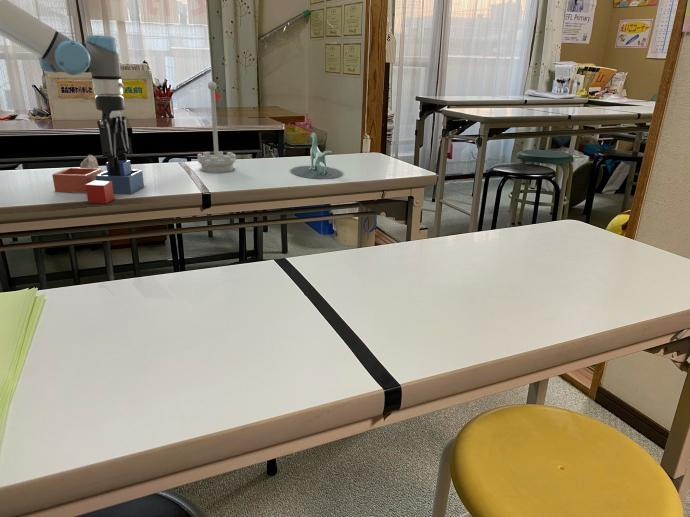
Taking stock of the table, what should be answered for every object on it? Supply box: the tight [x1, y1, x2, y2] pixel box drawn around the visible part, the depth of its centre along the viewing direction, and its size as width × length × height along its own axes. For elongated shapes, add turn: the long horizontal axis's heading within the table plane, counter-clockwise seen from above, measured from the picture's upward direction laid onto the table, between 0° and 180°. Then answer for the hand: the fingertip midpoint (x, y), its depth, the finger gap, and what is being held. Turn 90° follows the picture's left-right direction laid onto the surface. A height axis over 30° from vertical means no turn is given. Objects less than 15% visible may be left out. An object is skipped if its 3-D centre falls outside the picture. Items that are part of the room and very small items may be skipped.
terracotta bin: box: [51, 167, 103, 194], centre depth 153 cm, size 10×10×5 cm
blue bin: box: [96, 169, 145, 195], centre depth 152 cm, size 10×10×5 cm
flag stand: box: [197, 80, 236, 173], centre depth 179 cm, size 13×13×30 cm
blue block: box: [105, 159, 132, 176], centre depth 151 cm, size 5×5×5 cm
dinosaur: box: [290, 132, 343, 180], centre depth 182 cm, size 25×18×13 cm
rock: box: [79, 154, 105, 173], centre depth 165 cm, size 6×14×7 cm, turn 38°
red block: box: [85, 181, 115, 204], centre depth 140 cm, size 5×5×5 cm
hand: (119, 177), depth 152 cm, fingers closed on blue block, 5 cm apart
